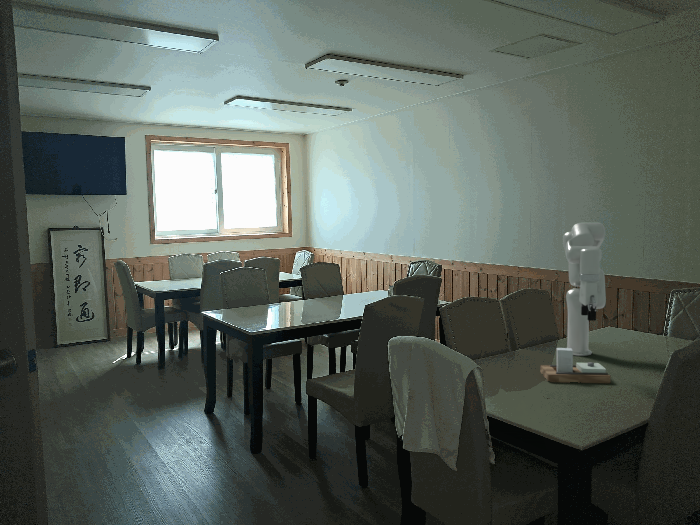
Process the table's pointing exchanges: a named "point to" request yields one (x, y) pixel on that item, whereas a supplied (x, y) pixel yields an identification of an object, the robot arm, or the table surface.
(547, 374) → the brown wooden sliding box
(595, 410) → the table surface
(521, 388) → the table surface
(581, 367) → the lid
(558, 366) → the skincare box
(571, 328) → the robot arm
